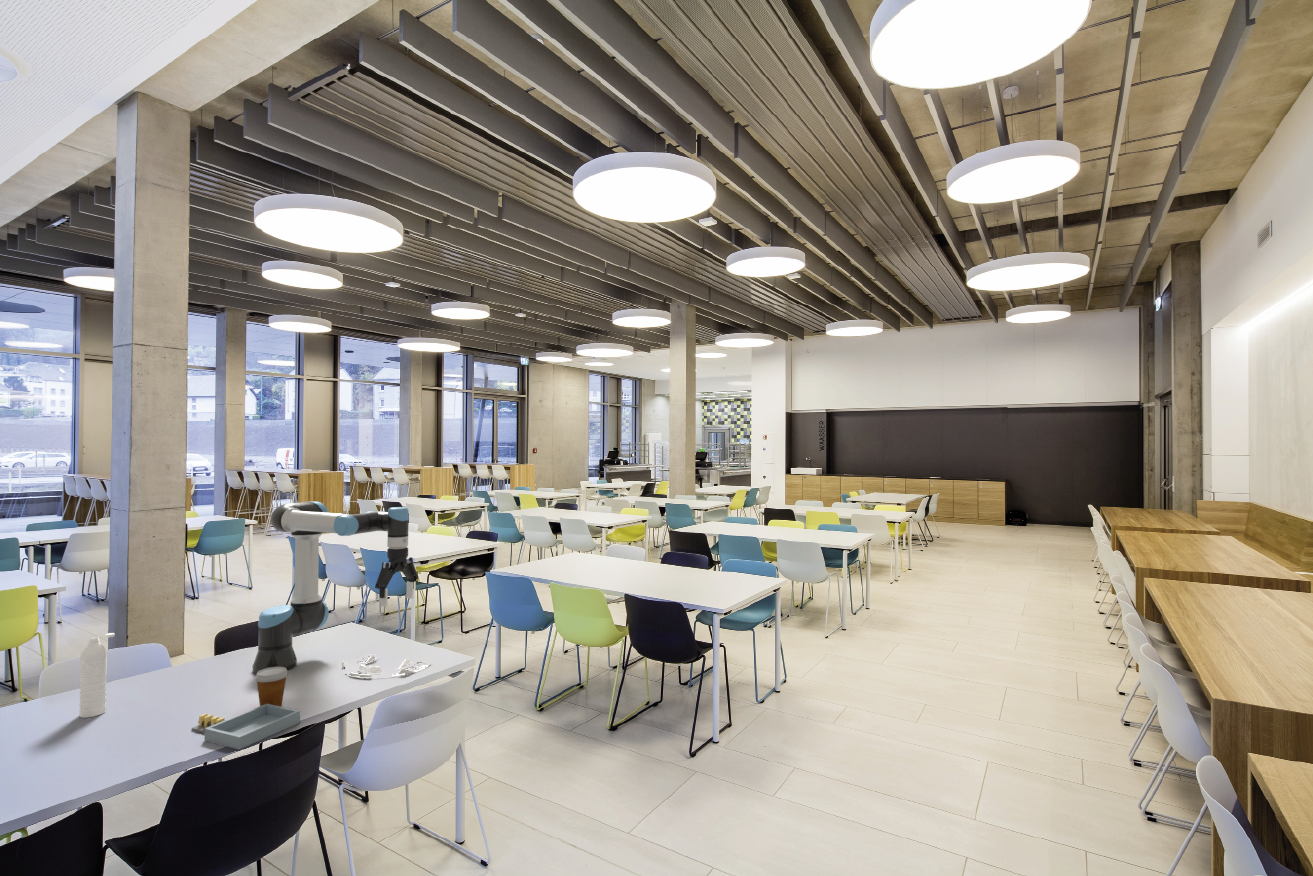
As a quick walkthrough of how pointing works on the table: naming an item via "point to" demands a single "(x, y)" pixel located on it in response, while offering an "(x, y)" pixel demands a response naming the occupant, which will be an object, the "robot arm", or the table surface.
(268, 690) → the disposable coffee cup
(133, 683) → the table surface
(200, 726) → the clip
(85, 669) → the water bottle
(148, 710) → the table surface
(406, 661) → the cable organizer
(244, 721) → the shallow rectangular grey tray
